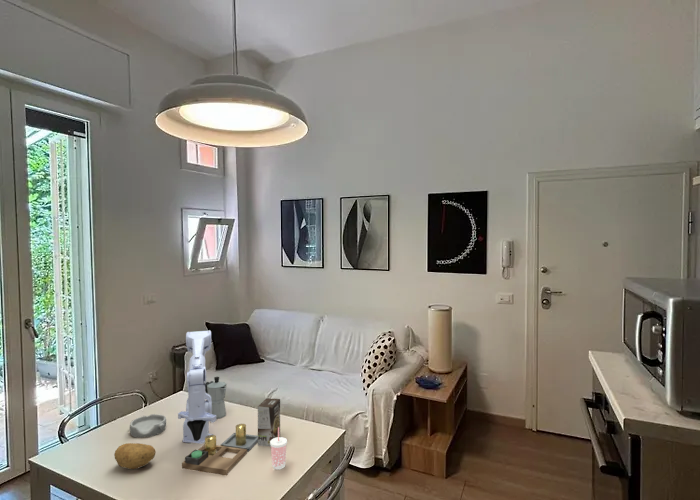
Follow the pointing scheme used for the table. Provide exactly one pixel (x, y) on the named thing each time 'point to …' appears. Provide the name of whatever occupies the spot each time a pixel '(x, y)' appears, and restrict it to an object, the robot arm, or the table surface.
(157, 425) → the dish
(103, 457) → the table surface
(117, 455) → the potato
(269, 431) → the coffee box
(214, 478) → the table surface
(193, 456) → the button
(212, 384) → the coffee maker
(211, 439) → the seated billet
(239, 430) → the cylinder
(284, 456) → the beverage cup
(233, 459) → the pallet board
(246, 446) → the tote
